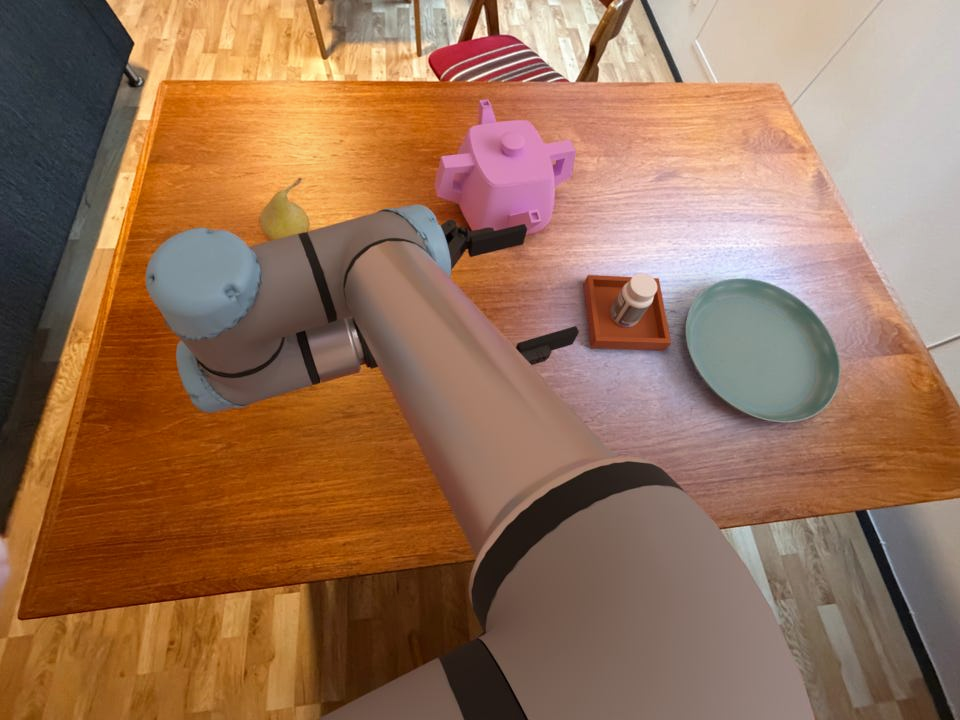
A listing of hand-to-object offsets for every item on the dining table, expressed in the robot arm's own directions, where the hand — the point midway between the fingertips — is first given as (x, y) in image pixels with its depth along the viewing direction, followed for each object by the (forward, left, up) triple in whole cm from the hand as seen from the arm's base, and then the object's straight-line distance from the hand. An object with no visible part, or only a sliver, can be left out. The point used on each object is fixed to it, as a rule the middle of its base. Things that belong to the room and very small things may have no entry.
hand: (548, 282), depth 59 cm
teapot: (+30, +1, -23) cm, 38 cm away
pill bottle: (+10, -18, -22) cm, 30 cm away
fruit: (+22, +34, -23) cm, 47 cm away
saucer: (+4, -38, -23) cm, 44 cm away
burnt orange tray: (+10, -18, -23) cm, 31 cm away
